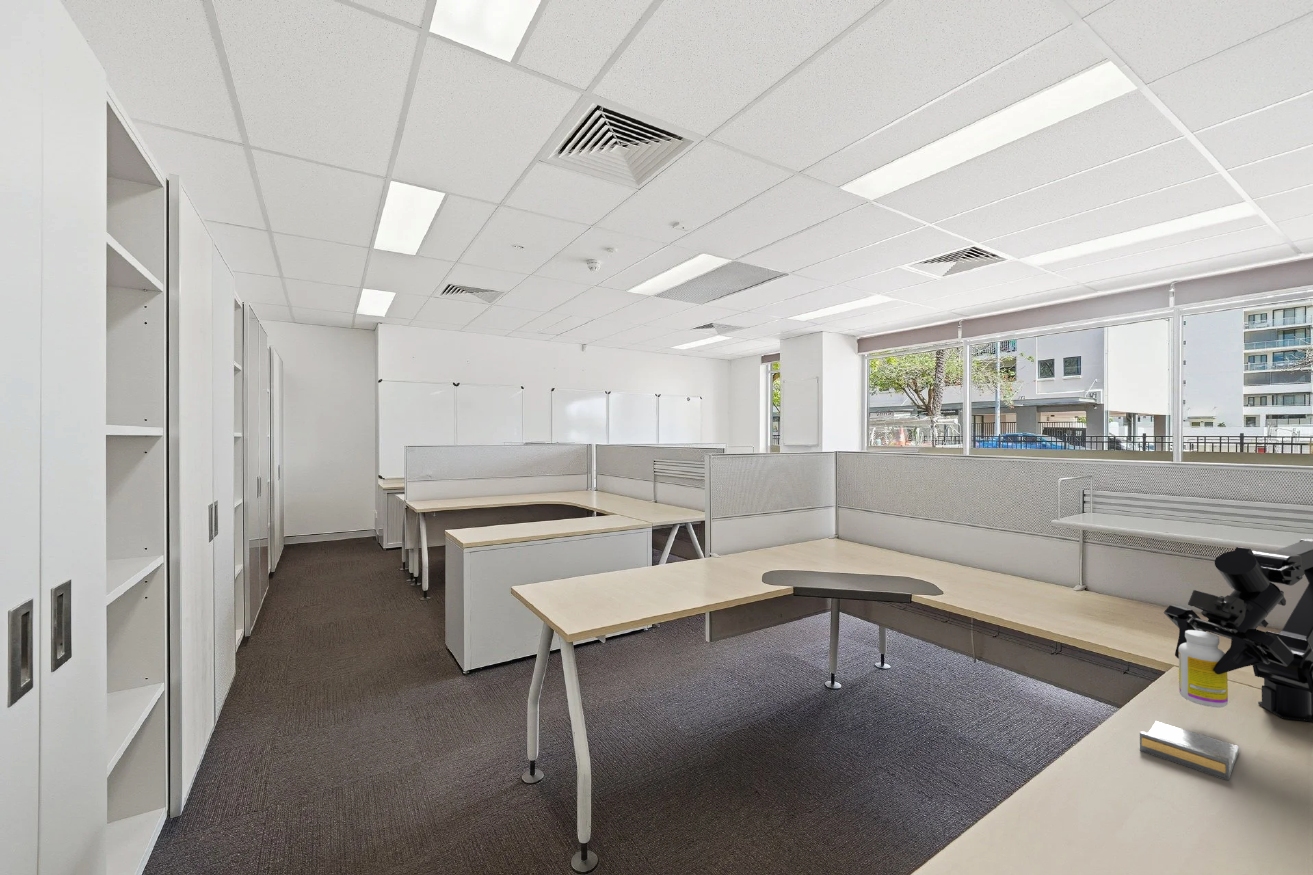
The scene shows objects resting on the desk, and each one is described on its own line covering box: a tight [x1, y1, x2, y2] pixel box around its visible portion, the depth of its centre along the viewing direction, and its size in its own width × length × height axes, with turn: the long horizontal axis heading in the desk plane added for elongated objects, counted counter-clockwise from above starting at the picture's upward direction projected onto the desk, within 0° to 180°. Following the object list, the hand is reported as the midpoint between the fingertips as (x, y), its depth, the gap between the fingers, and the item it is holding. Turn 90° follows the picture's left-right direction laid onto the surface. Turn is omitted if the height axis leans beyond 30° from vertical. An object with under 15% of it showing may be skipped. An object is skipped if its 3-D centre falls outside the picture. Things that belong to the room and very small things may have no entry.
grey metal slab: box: [1139, 720, 1240, 781], centre depth 97 cm, size 13×11×3 cm
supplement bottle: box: [1178, 630, 1229, 708], centre depth 105 cm, size 7×7×13 cm
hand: (1195, 664), depth 105 cm, fingers closed on supplement bottle, 7 cm apart
